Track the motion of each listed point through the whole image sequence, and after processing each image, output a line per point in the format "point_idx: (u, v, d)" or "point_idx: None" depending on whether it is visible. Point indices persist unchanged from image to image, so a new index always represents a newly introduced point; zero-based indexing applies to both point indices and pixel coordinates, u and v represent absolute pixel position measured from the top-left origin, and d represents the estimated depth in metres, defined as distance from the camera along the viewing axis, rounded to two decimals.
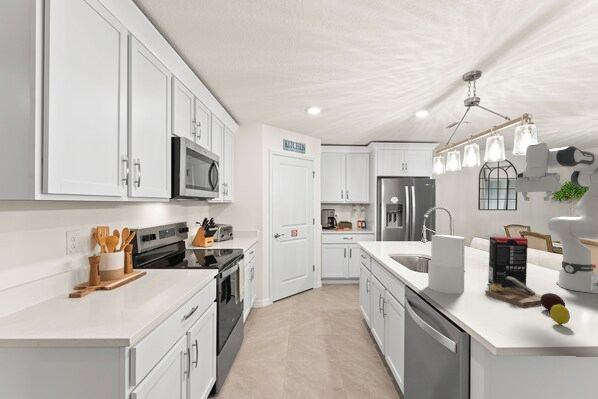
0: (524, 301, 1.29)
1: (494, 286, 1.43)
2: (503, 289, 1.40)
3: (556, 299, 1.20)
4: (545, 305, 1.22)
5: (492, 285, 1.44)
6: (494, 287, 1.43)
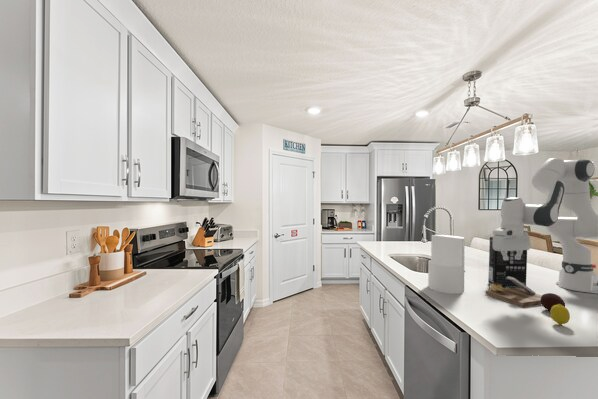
0: (524, 301, 1.29)
1: (494, 286, 1.43)
2: (503, 289, 1.40)
3: (556, 299, 1.20)
4: (545, 305, 1.22)
5: (492, 285, 1.44)
6: (494, 287, 1.43)
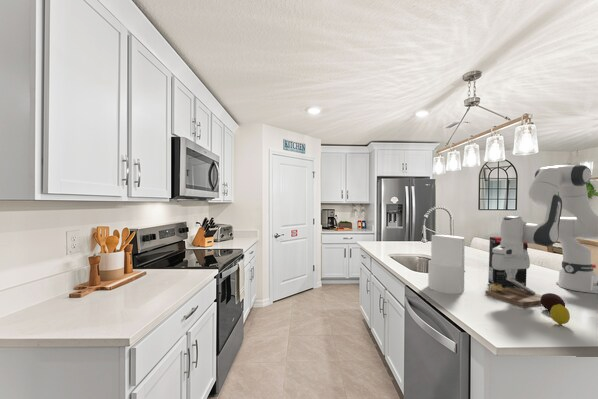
0: (524, 301, 1.29)
1: (494, 286, 1.43)
2: (503, 289, 1.40)
3: (556, 299, 1.20)
4: (545, 305, 1.22)
5: (492, 285, 1.44)
6: (494, 287, 1.43)
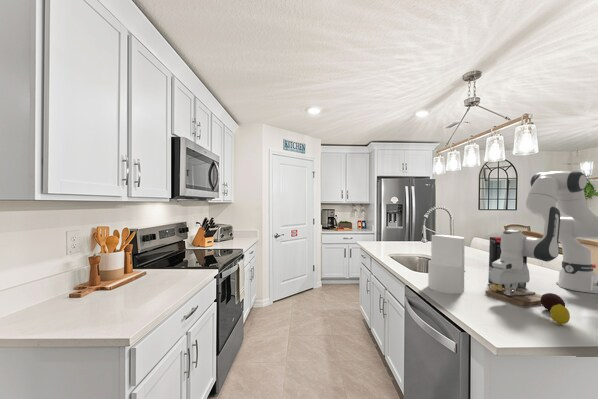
0: (524, 301, 1.29)
1: (494, 286, 1.43)
2: (503, 289, 1.40)
3: (556, 299, 1.20)
4: (545, 305, 1.22)
5: (492, 285, 1.44)
6: (494, 287, 1.43)
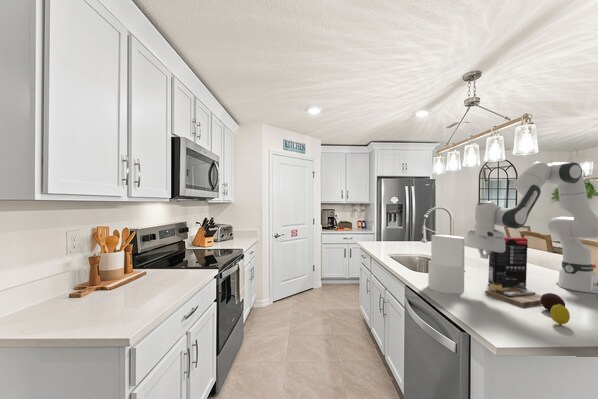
0: (524, 301, 1.29)
1: (494, 286, 1.43)
2: (503, 289, 1.40)
3: (556, 299, 1.20)
4: (545, 305, 1.22)
5: (492, 285, 1.44)
6: (494, 287, 1.43)
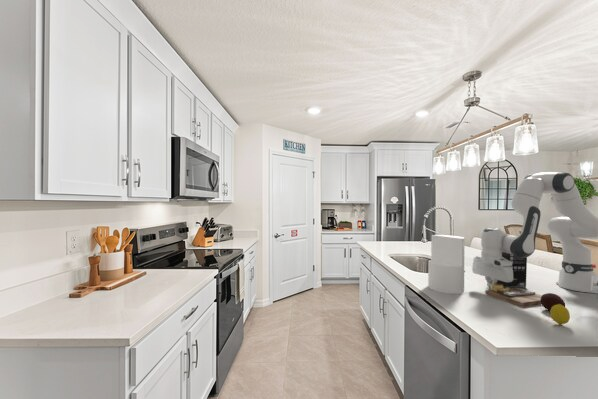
0: (524, 301, 1.29)
1: (495, 286, 1.42)
2: (504, 289, 1.39)
3: (556, 299, 1.20)
4: (545, 305, 1.22)
5: (493, 285, 1.43)
6: (495, 287, 1.42)
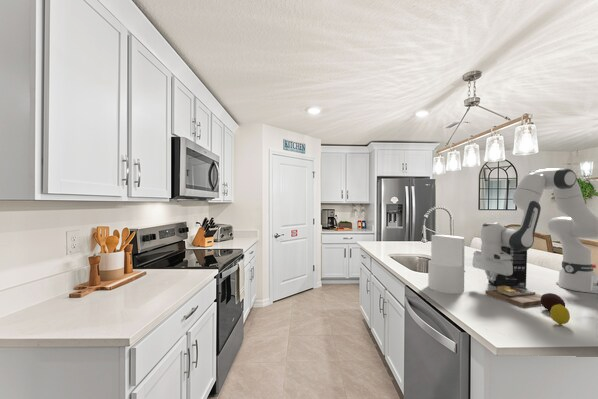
0: (524, 301, 1.29)
1: (502, 288, 1.39)
2: (511, 292, 1.36)
3: (556, 299, 1.20)
4: (545, 305, 1.22)
5: (500, 287, 1.40)
6: (502, 289, 1.39)
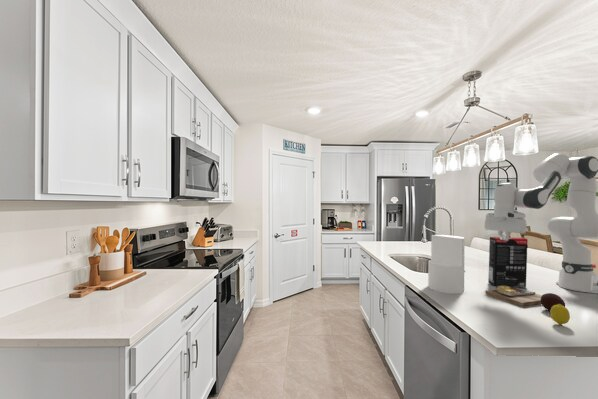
0: (524, 301, 1.29)
1: (502, 288, 1.39)
2: (511, 292, 1.36)
3: (556, 299, 1.20)
4: (545, 305, 1.22)
5: (500, 287, 1.40)
6: (502, 289, 1.39)
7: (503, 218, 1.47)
